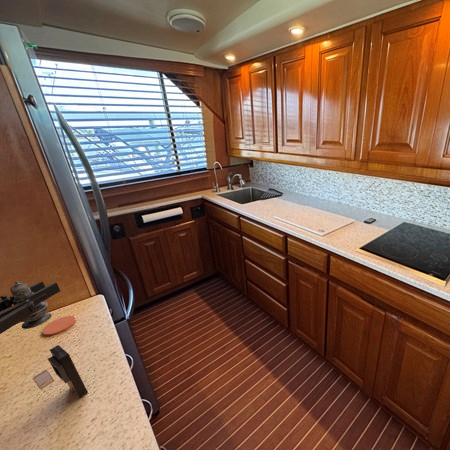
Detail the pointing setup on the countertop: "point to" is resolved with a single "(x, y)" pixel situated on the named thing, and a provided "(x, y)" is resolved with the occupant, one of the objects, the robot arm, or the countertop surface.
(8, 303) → the robot arm
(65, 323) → the coaster
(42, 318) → the grey buddha statue
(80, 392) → the flush panel
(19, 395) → the countertop surface
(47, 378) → the flush button
